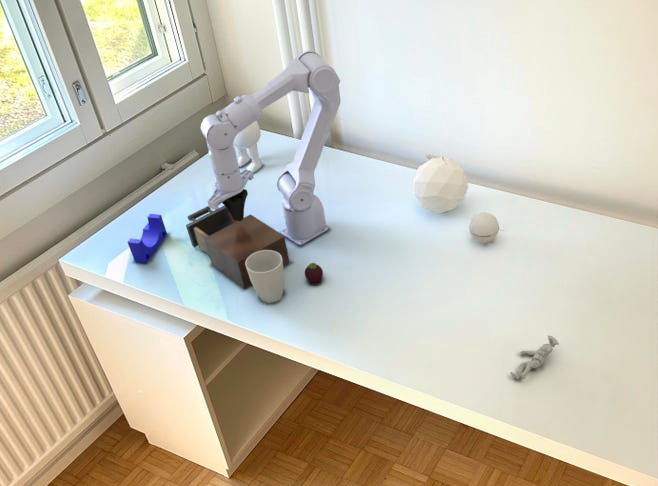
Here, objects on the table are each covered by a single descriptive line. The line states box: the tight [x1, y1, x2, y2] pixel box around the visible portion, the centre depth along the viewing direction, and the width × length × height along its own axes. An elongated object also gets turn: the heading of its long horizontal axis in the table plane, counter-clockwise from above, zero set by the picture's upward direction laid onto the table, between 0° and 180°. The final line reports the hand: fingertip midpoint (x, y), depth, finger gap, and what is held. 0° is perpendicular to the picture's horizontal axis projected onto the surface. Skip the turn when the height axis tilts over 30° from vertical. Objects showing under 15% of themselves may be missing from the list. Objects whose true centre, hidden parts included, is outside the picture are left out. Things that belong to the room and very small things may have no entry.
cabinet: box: [205, 214, 290, 290], centre depth 175 cm, size 13×13×8 cm
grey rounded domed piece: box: [468, 211, 503, 244], centre depth 178 cm, size 10×7×7 cm
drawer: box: [185, 205, 237, 255], centre depth 181 cm, size 17×12×6 cm
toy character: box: [233, 120, 263, 173], centre depth 205 cm, size 9×9×15 cm
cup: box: [245, 250, 285, 304], centre depth 166 cm, size 8×8×10 cm
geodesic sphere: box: [412, 154, 469, 214], centre depth 187 cm, size 15×14×14 cm
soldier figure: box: [510, 334, 560, 380], centre depth 150 cm, size 8×5×12 cm
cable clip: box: [127, 213, 168, 264], centre depth 182 cm, size 12×4×6 cm, turn 168°
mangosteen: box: [304, 262, 324, 286], centre depth 171 cm, size 4×4×4 cm
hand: (238, 219), depth 175 cm, fingers closed
